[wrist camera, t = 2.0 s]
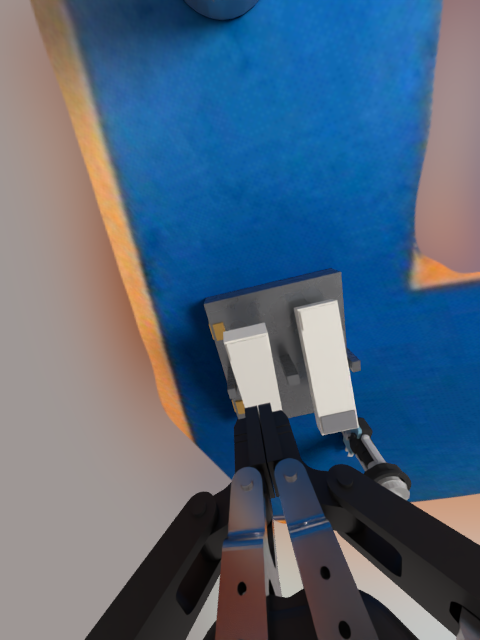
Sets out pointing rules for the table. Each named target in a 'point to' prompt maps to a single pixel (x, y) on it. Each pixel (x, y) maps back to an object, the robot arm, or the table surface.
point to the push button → (375, 460)
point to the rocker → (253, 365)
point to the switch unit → (276, 331)
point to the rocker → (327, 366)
